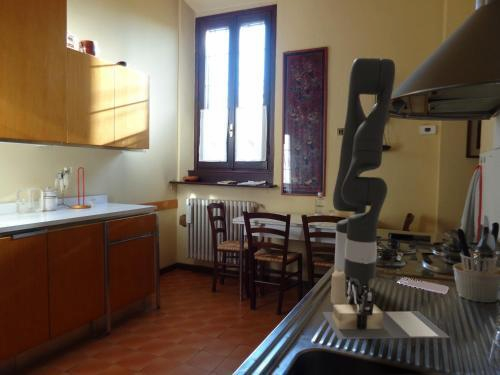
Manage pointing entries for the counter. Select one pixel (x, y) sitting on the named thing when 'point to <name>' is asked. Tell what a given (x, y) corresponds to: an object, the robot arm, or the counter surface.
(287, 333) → the counter surface
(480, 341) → the counter surface
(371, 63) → the robot arm
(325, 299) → the counter surface
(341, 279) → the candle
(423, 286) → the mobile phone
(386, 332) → the mat
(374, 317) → the cream block
